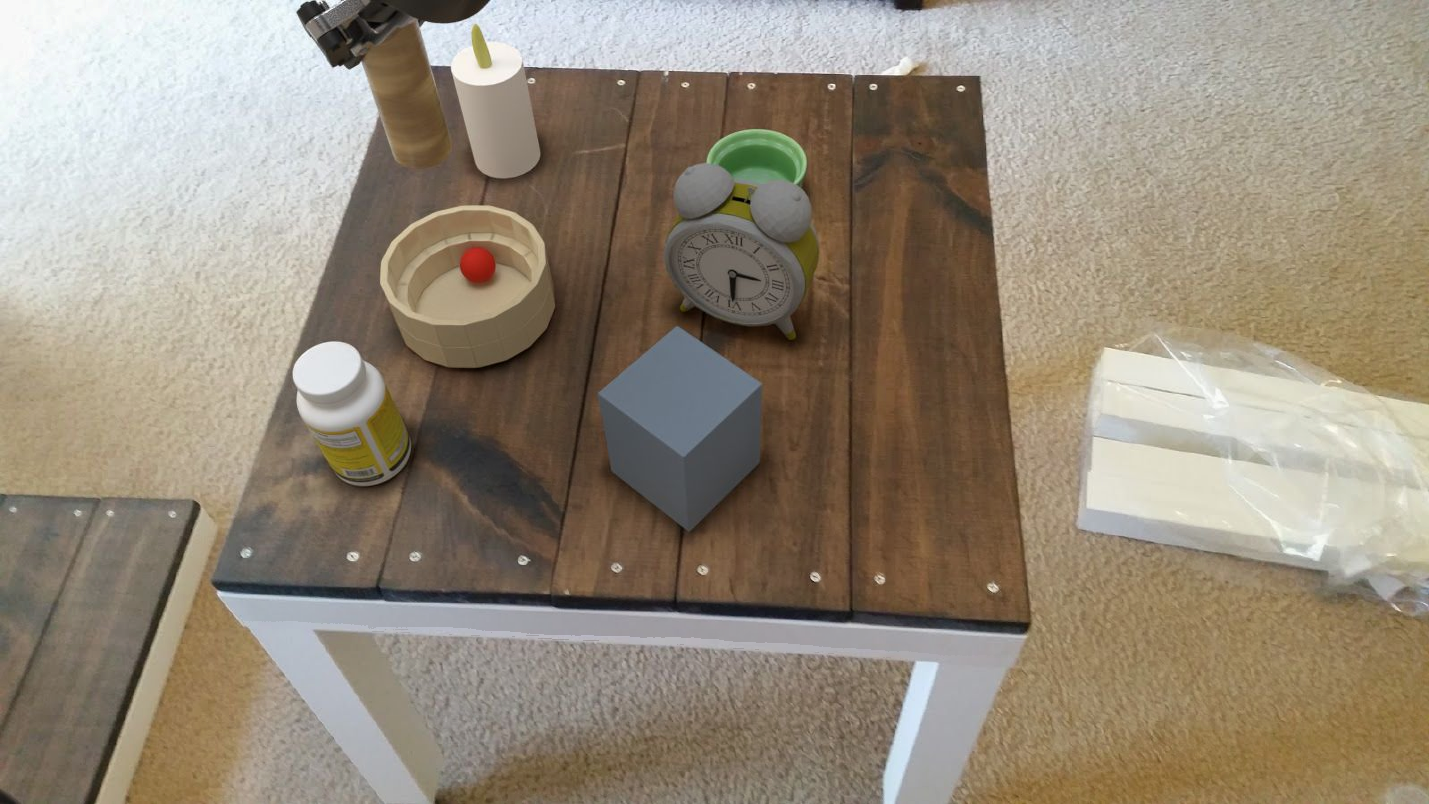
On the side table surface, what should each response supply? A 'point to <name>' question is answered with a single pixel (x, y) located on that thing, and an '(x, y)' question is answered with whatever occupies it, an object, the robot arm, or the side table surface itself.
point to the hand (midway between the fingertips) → (371, 36)
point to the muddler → (408, 99)
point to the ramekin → (760, 156)
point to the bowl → (468, 286)
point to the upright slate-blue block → (682, 426)
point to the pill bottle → (350, 414)
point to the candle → (496, 107)
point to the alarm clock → (741, 247)
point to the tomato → (477, 265)
